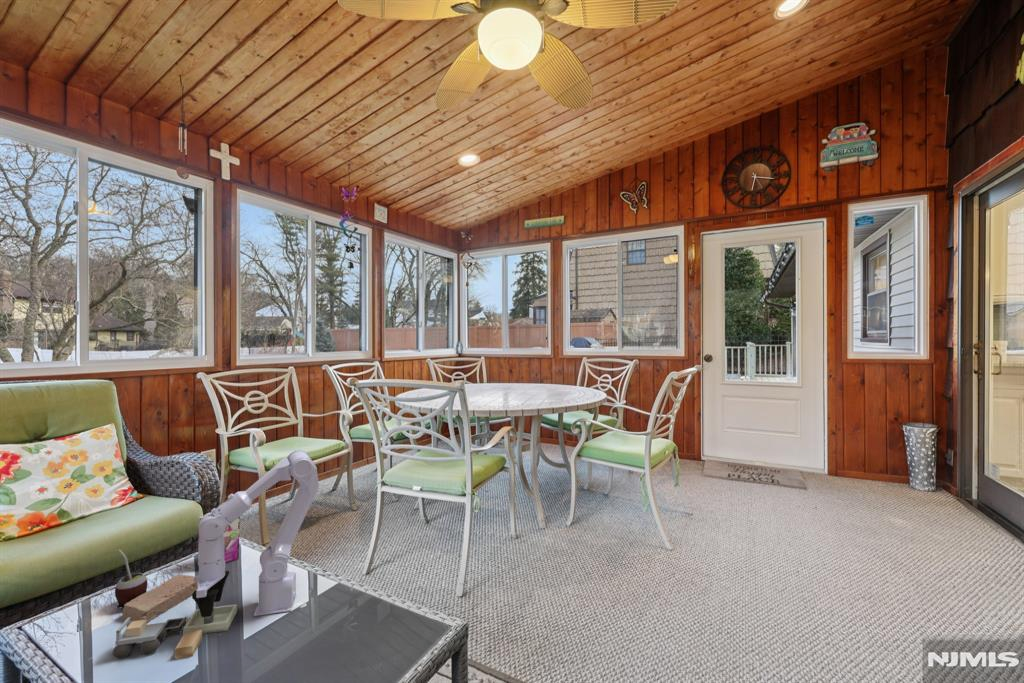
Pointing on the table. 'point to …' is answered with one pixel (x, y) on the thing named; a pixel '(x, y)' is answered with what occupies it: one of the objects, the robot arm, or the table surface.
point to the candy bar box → (229, 541)
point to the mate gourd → (129, 585)
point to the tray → (220, 623)
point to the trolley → (138, 637)
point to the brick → (160, 598)
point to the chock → (188, 644)
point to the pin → (209, 618)
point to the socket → (175, 622)
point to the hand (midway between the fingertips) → (211, 608)
